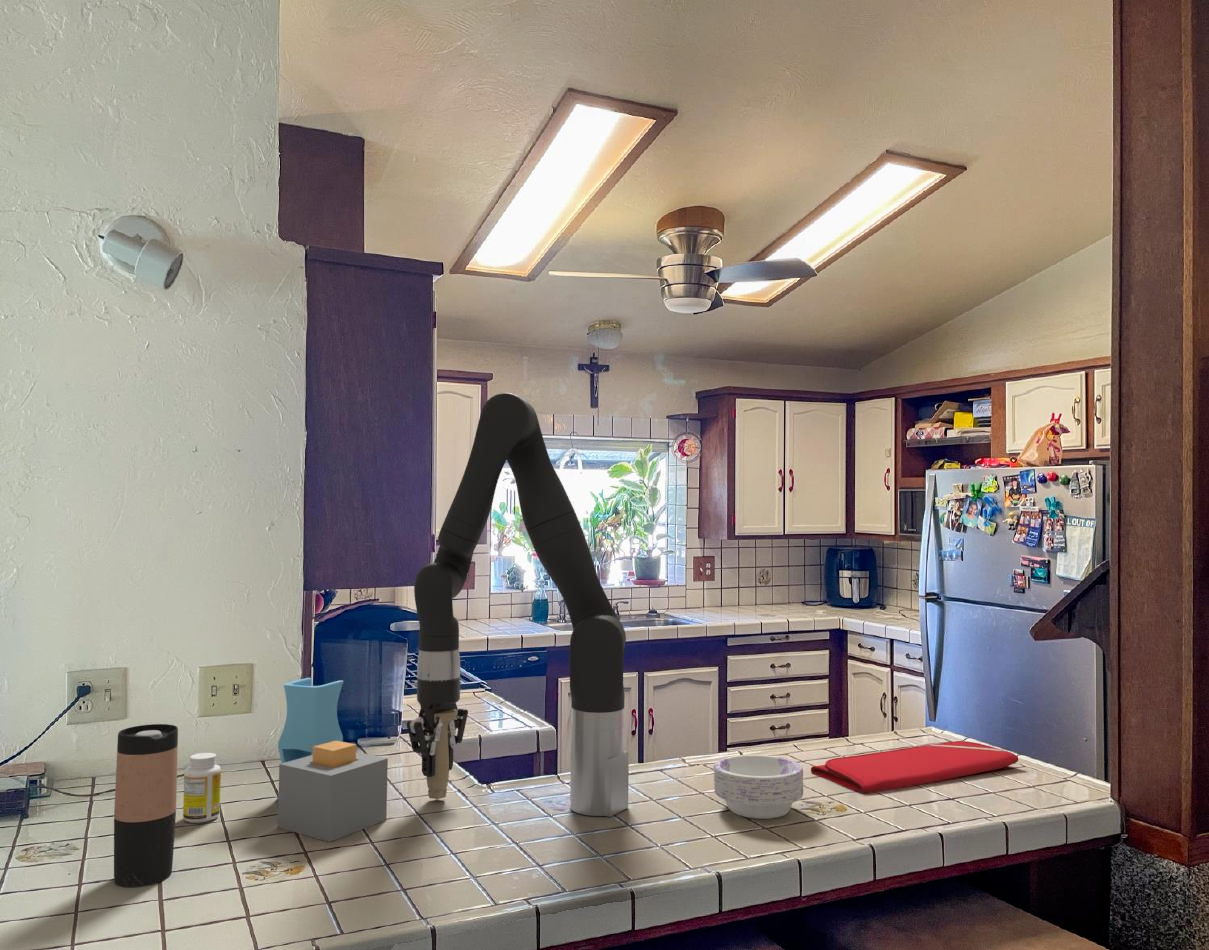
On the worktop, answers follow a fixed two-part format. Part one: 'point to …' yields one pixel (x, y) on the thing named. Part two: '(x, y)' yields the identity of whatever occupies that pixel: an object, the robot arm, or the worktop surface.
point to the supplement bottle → (202, 789)
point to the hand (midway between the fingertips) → (437, 772)
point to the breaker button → (334, 753)
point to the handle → (441, 758)
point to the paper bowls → (758, 785)
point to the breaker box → (332, 796)
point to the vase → (309, 718)
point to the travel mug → (145, 804)
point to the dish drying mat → (913, 765)
